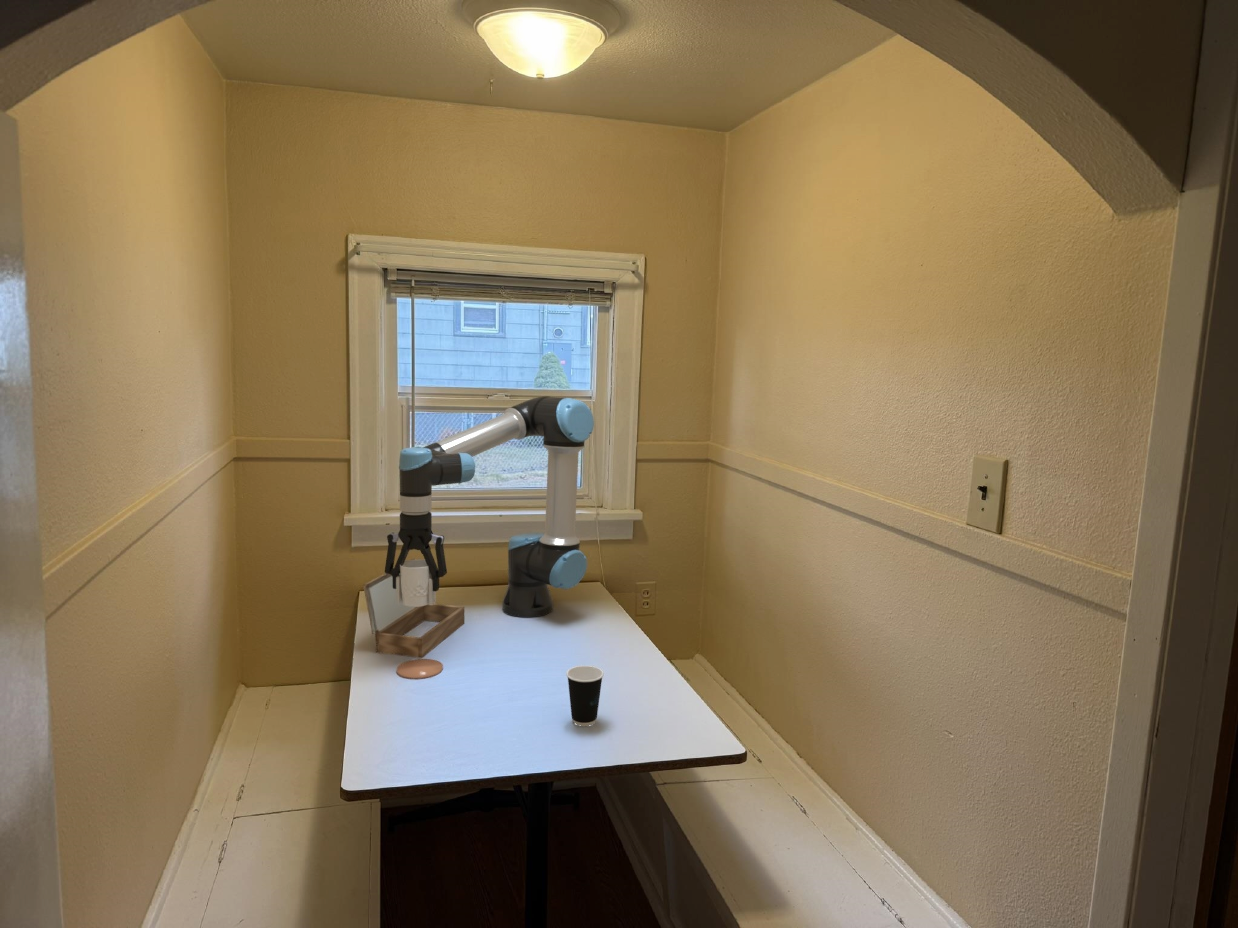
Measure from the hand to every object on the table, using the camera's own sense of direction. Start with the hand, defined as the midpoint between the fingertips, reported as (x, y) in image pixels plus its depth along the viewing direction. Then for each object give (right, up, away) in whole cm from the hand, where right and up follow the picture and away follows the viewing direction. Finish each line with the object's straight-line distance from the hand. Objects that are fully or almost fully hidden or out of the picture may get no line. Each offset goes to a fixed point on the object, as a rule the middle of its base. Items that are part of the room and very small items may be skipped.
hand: (416, 602), depth 196 cm
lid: (-11, -1, +20) cm, 23 cm away
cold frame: (-3, -13, +20) cm, 24 cm away
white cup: (0, 0, 0) cm, 1 cm away
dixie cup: (+43, -21, -26) cm, 54 cm away
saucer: (+1, -16, -1) cm, 16 cm away
